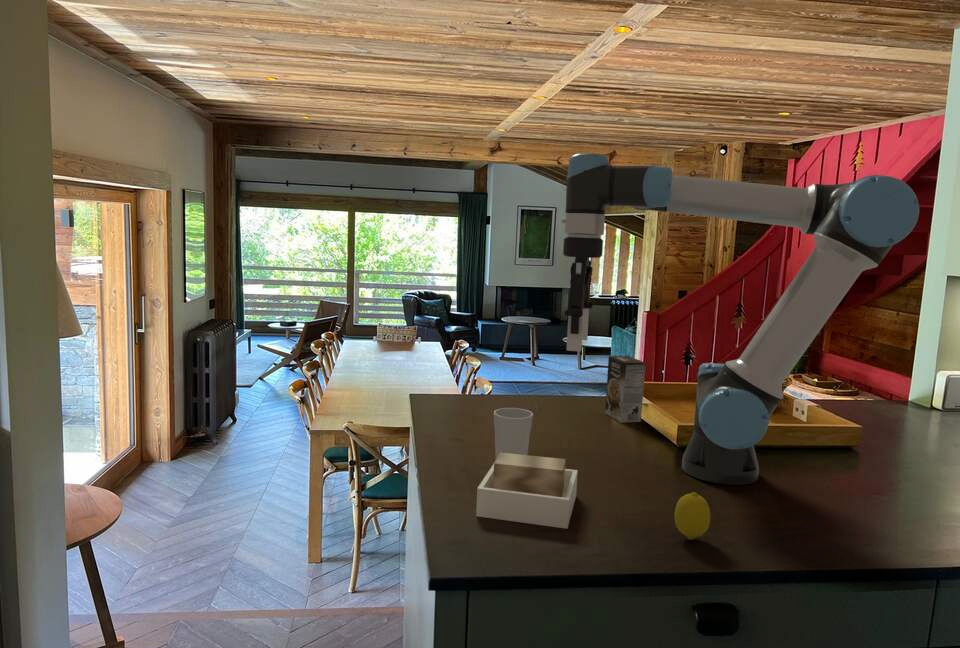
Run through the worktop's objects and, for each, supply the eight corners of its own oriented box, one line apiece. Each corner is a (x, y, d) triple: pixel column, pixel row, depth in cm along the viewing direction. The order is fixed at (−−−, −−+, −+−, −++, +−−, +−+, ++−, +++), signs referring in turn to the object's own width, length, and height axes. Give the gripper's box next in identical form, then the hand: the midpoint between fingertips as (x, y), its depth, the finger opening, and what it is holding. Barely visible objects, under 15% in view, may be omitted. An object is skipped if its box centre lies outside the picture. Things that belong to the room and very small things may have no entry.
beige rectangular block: (492, 490, 119) (494, 463, 118) (498, 478, 125) (499, 452, 124) (561, 498, 116) (562, 470, 116) (564, 485, 122) (565, 459, 122)
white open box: (576, 495, 126) (577, 470, 126) (567, 528, 112) (569, 500, 112) (494, 485, 130) (495, 460, 129) (476, 516, 116) (477, 488, 115)
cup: (527, 478, 134) (530, 420, 133) (488, 474, 136) (490, 416, 134) (532, 465, 142) (535, 409, 140) (495, 461, 144) (497, 406, 142)
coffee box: (603, 413, 185) (607, 355, 182) (624, 412, 187) (628, 355, 184) (620, 423, 176) (624, 362, 174) (642, 421, 178) (646, 361, 176)
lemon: (680, 528, 114) (684, 483, 113) (713, 539, 110) (717, 492, 109) (667, 539, 110) (670, 492, 108) (700, 550, 106) (704, 502, 105)
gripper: (570, 235, 143) (565, 334, 146) (556, 235, 119) (549, 354, 122) (606, 237, 142) (600, 337, 145) (599, 237, 118) (591, 357, 121)
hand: (577, 345), depth 133 cm, fingers open, 13 cm apart
